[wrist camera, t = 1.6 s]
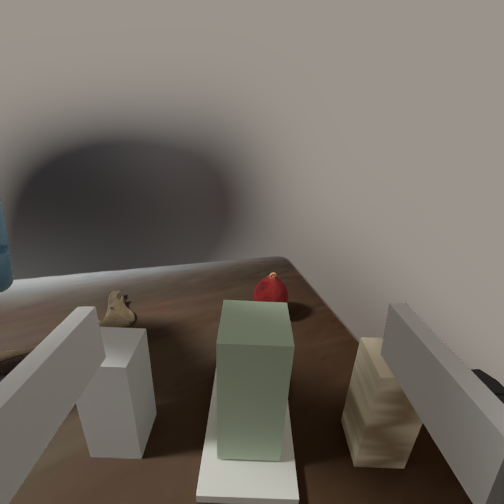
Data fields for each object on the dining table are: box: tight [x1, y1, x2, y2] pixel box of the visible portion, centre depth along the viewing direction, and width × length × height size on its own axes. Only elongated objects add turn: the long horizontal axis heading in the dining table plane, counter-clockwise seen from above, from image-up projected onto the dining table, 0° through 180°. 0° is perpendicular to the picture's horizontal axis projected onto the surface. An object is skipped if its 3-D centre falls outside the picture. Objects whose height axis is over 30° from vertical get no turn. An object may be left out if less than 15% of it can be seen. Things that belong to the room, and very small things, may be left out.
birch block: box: [341, 337, 423, 469], centre depth 30 cm, size 5×5×12 cm
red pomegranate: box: [253, 273, 288, 303], centre depth 51 cm, size 6×6×8 cm
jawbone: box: [0, 289, 135, 362], centre depth 46 cm, size 9×20×2 cm, turn 148°
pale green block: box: [216, 300, 294, 461], centre depth 29 cm, size 6×6×14 cm
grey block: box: [76, 327, 157, 459], centre depth 30 cm, size 5×5×12 cm
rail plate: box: [196, 368, 299, 504], centre depth 35 cm, size 19×9×1 cm, turn 179°
